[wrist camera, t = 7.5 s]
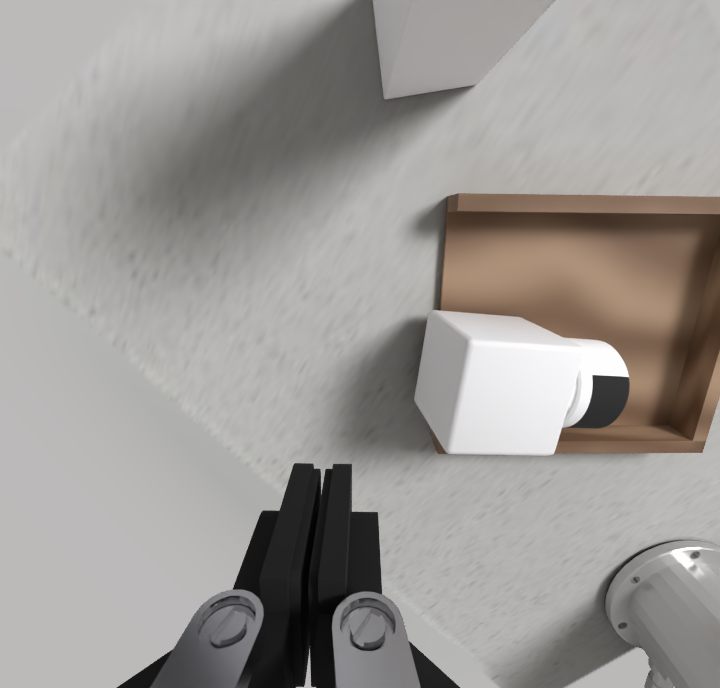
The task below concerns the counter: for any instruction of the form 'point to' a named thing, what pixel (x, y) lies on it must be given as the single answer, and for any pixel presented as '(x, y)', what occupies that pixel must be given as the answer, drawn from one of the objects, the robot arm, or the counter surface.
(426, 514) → the counter surface
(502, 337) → the medicine bottle
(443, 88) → the milk
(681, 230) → the walnut tray
